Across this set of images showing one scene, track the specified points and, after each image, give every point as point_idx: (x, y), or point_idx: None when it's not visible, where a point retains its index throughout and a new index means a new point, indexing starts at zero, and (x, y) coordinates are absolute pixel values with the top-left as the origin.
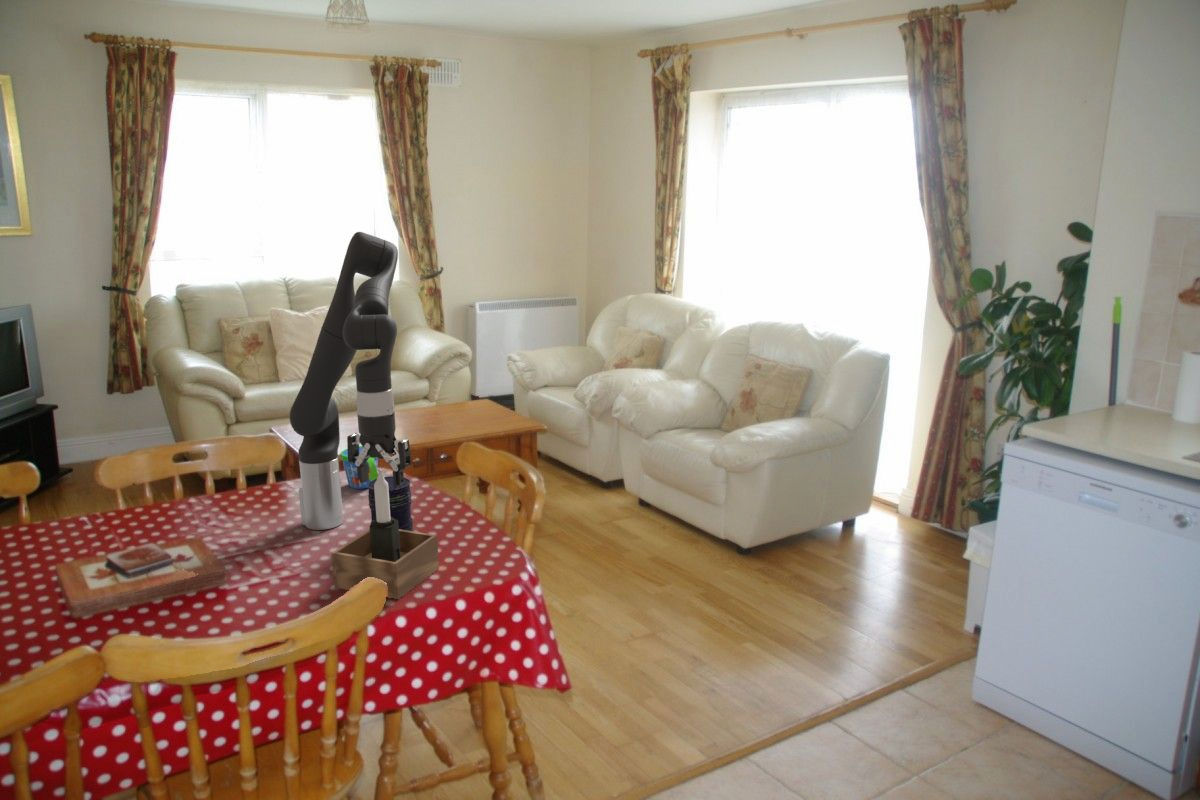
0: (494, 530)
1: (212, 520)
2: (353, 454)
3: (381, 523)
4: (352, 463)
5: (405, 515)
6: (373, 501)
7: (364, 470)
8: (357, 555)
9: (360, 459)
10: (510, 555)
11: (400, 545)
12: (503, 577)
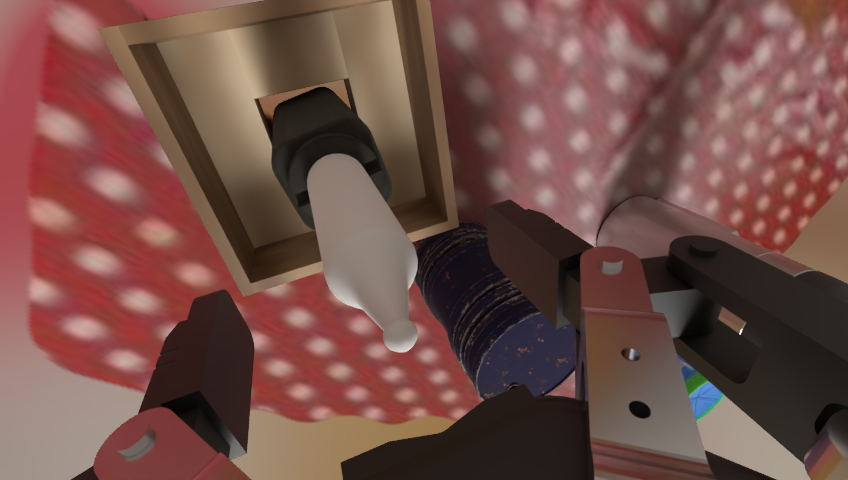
0: (319, 414)
1: (814, 110)
2: (728, 306)
3: (313, 152)
4: (692, 372)
5: (442, 314)
6: None
7: (532, 272)
8: (415, 108)
9: (612, 302)
10: None
11: None
12: (53, 313)
